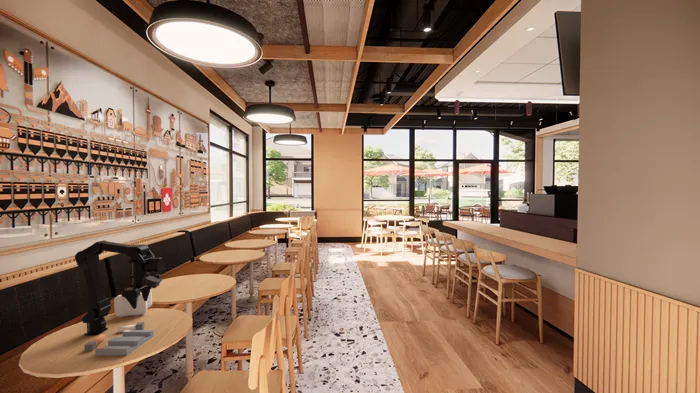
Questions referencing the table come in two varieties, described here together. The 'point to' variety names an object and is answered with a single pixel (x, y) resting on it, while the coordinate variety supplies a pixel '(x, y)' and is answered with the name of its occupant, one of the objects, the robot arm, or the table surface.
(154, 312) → the table surface
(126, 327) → the white-handled mallet
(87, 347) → the orange-handled mallet
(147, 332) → the ribbed grooved tray
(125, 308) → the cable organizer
